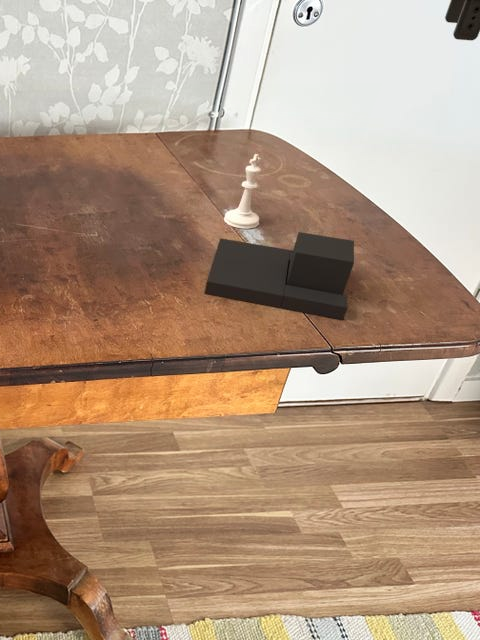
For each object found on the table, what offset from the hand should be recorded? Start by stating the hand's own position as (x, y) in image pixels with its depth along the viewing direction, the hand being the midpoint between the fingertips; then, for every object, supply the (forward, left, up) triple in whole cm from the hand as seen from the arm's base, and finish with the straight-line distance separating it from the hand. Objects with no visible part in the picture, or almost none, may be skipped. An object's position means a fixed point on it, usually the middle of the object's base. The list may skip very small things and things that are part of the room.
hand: (459, 30), depth 77 cm
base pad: (+12, +12, -28) cm, 33 cm away
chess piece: (+18, -4, -28) cm, 34 cm away
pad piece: (+8, +12, -28) cm, 32 cm away
